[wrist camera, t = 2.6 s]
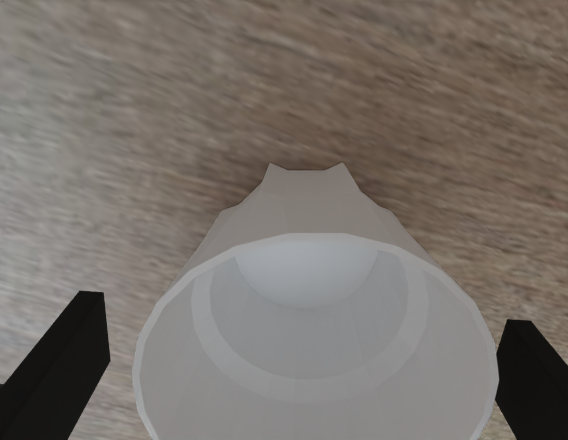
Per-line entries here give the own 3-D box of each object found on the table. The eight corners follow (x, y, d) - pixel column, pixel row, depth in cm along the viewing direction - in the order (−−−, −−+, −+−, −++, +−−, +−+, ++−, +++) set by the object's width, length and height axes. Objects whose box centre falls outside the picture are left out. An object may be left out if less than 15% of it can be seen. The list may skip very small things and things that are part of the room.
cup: (307, 90, 19) (318, 145, 10) (453, 242, 21) (571, 399, 12) (159, 241, 22) (61, 394, 13) (304, 359, 24) (309, 556, 15)
